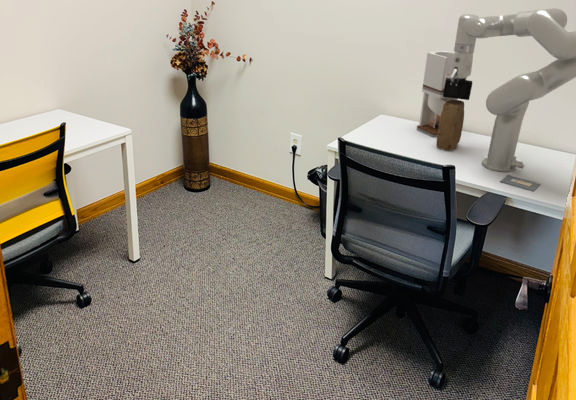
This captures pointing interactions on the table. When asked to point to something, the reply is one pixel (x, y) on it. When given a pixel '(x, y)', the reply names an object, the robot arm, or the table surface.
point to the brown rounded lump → (450, 125)
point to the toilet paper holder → (434, 90)
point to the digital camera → (463, 89)
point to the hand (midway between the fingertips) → (456, 92)
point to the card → (520, 183)
